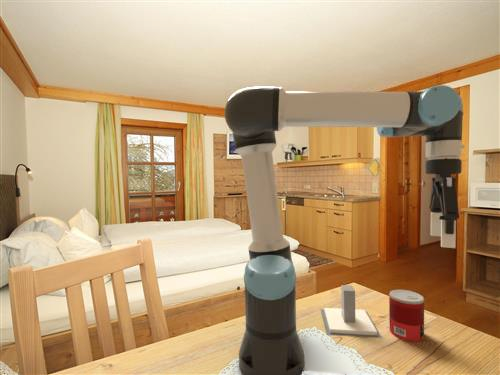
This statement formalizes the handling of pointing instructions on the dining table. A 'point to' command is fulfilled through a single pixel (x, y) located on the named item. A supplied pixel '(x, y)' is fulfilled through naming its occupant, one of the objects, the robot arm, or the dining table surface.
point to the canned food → (406, 315)
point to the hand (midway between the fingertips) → (441, 241)
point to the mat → (348, 334)
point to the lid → (348, 316)
